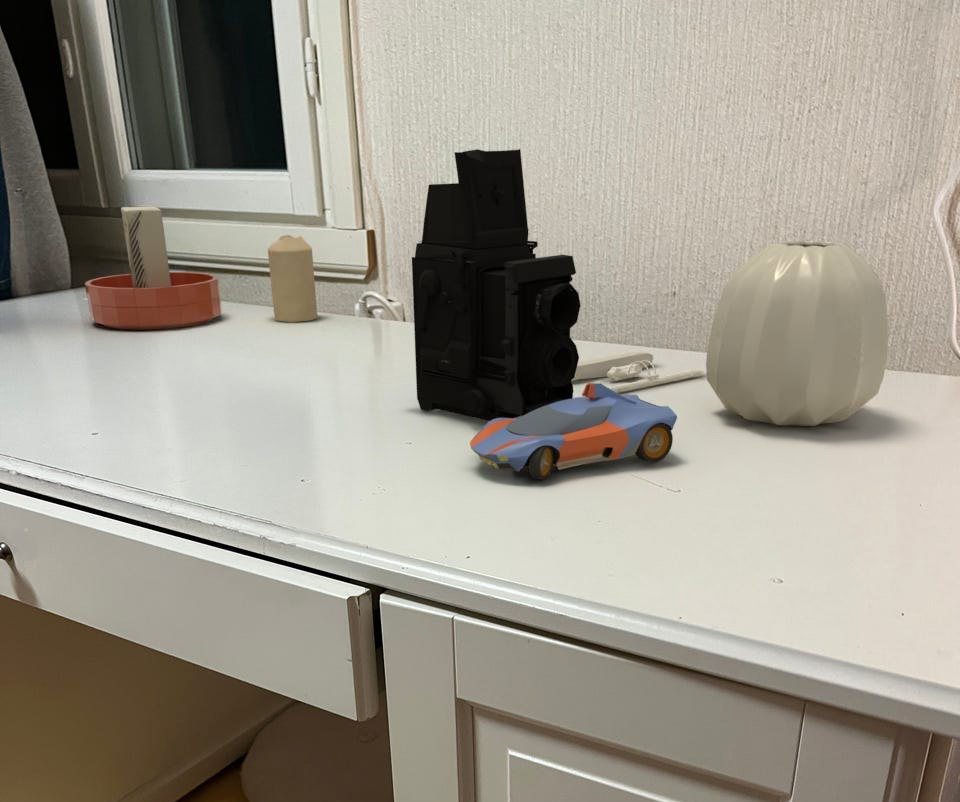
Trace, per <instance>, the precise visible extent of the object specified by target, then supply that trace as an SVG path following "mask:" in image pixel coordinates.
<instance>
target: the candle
mask: <svg viewBox="0 0 960 802" xmlns="http://www.w3.org/2000/svg"><path fill="white" fill-rule="evenodd" d="M267 255H268V265H269V266H268V267H269V275H270V277H269V278H270V285H271V296H272V305H273V306H272V307H273V316H274V319H275V321H279V322H286V323H287V322H288V323H299V322H307V321H308V322H309V321H312V320H316V319H317V318H318V307H317V305H318V304H317V296H316V295H317V293H316V282H315V281H316V279H315V270H314V259H313V258H314V257H313V247H312V246H311V245H309V243H308V242H307V241H306V240H305V239H304V238H303V236H302V235H300V236H297V237H294V236H292V235H291V234H285V235H282V236H280V237H279V238H278V239H277V240H276V241H274V242H273V243H271V244H270V246H269V247H268V248H267Z"/></svg>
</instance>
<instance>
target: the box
mask: <svg viewBox="0 0 960 802" xmlns="http://www.w3.org/2000/svg"><path fill="white" fill-rule="evenodd" d="M120 211H121V217H122V225H123V230H124V238H125V243H126V250H127V258H128V263H129V270H130V274H131V278H132V285H133V288H152V287H168V286H171V281H170V273H169V272H170V266H169V258H168V251H167V245H166V244H167V243H166V237H165V228H164V220H163V214H162V210H161V209H160V208H159V207H156V206H149V205H148V206H147V205H146V206H123V207H121V208H120Z"/></svg>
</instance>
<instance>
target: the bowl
mask: <svg viewBox="0 0 960 802" xmlns="http://www.w3.org/2000/svg"><path fill="white" fill-rule="evenodd" d="M169 273H170V281H171V286H168V287H152V288H133V285H132V278H131V273H126V274H115V275H107V276H102V277H97V278H93V279H88V280H87V281H85V283H84V287H85V293H86V298H87V305H88V309H89V315H90V320H91V321H93V323H96V324H100V325H103V326H104V327H107V328H110V329H118V330H133V331H134V330H135V331H136V330H137V331H144V330H151V331H152V330H167V329H168V330H169V329H176V328H185V327H191V326H192V327H193V326H198V325H200V324H201V325H202V324H205V323H209V322H211V321H212V320H213V319H214V318H217V317H220V316H221V315H223V306H222V298H221V290H220V281H219V276H217V275H215V274H213V273H205V272H193V271H169Z"/></svg>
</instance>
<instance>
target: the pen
mask: <svg viewBox="0 0 960 802" xmlns="http://www.w3.org/2000/svg"><path fill="white" fill-rule="evenodd" d="M642 360H647V361H649V362H651V363H652V364H653V361H654V355H653V354H652V353H650V352H647V351H644V350H641V351H640V350H639V351H627V352H622V353H617V354H612V355H607V356H602V357H596V358H591V359H587V360H582V361H578V364H577V368H576V372H575V376H574V378H573V379H572V380H578V379H579V380H580V379H597V378H605V377H608V376H607V372H608V371H610V369H611V368H612V367H622V366H627V365H630V364H631V363H634V362H636V361H642ZM638 363H639V362H638ZM638 363H635V364H638ZM643 363H644V364H645V365H646V366H647V368H648V367H649V366H651V364H650V363H648V362H646V361H643ZM639 366H640V367H642V369H646V367H645V366H644V365H643V364H642V363H640V364H639Z"/></svg>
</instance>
